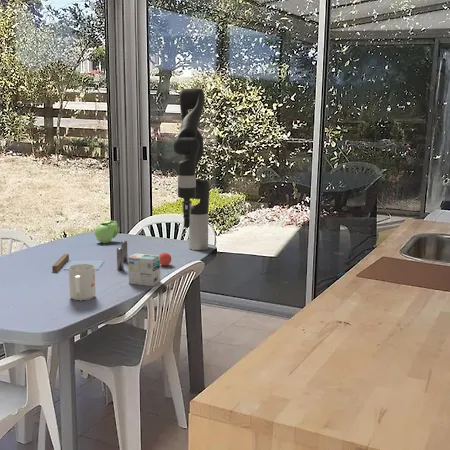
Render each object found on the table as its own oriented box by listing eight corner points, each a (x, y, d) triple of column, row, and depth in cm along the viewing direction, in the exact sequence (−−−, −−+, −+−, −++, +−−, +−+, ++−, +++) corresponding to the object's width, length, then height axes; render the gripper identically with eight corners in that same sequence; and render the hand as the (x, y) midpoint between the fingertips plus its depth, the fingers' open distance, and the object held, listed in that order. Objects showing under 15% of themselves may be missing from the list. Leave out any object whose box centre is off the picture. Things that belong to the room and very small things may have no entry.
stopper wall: (68, 259, 253) (68, 253, 252) (57, 271, 233) (57, 266, 233) (64, 259, 253) (64, 253, 252) (52, 271, 233) (52, 266, 233)
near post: (124, 268, 239) (123, 247, 237) (123, 270, 236) (122, 249, 235) (117, 268, 239) (117, 247, 237) (116, 270, 236) (116, 249, 234)
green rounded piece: (108, 246, 278) (107, 224, 275) (91, 243, 283) (91, 221, 281) (125, 241, 288) (124, 220, 285) (108, 239, 293) (108, 218, 291)
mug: (73, 293, 206) (71, 263, 204) (97, 293, 206) (96, 263, 204) (64, 304, 194) (63, 273, 192) (91, 304, 195) (89, 273, 192)
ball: (171, 263, 247) (171, 251, 246) (171, 267, 242) (170, 254, 241) (158, 263, 247) (158, 251, 246) (157, 267, 242) (157, 254, 240)
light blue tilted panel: (104, 261, 250) (104, 260, 250) (98, 269, 237) (98, 269, 237) (71, 261, 250) (71, 260, 250) (64, 269, 236) (64, 269, 236)
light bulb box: (161, 282, 221) (160, 255, 219) (153, 287, 215) (153, 259, 213) (136, 279, 225) (135, 252, 222) (128, 283, 218) (127, 256, 216)
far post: (128, 260, 251) (127, 240, 250) (127, 262, 249) (126, 242, 247) (122, 260, 251) (121, 240, 249) (121, 262, 249) (120, 242, 247)
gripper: (195, 188, 231) (195, 229, 234) (196, 183, 245) (196, 222, 248) (176, 188, 231) (177, 229, 234) (178, 183, 245) (178, 222, 248)
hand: (186, 225), depth 241 cm, fingers open, 4 cm apart
